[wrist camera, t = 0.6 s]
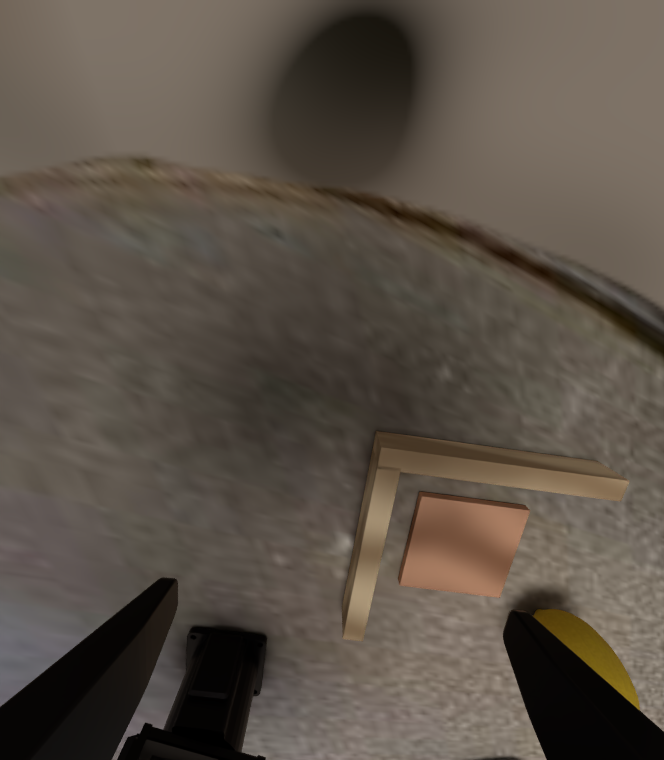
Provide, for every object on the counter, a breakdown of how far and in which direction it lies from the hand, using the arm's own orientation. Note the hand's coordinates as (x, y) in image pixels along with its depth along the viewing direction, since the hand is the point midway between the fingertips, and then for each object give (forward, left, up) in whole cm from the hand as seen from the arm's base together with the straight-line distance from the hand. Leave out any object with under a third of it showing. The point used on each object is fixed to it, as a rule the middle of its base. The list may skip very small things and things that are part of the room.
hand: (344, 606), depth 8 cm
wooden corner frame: (-8, -11, -14) cm, 19 cm away
